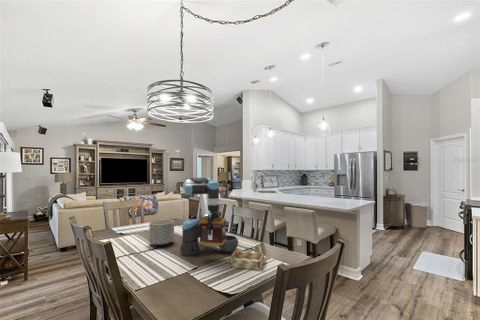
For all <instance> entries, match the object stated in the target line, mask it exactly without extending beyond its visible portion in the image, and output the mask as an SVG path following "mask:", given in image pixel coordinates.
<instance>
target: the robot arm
mask: <svg viewBox="0 0 480 320" xmlns="http://www.w3.org/2000/svg"><path fill="white" fill-rule="evenodd" d="M182 187H183V190H184V195H186V196H187V195H189V196H191V195H199V201H200V202H199V203H200V211H201V217H200V219H198V218H192V219H187V220H185V221H183V222H182V227H181V230H182V238H181V239H182V241H181V242H182V243H181V245H180V249H179V254H180V255H181V256H185V257H186V256H188V257H189V256H190V257H192V256H196V255H199V254H200V253H202V248H201V244H200V240H199V239H200V221H201V220H202V219H204V218H205V217H208V221H207V230H208V240H212V221H213V220H214V219H215V218H220V216H219V215H220V213H219V212H220V211H219V210H220V182H219V181H215V180H212V179H211V177H190V178H187V179H185V180H184V181H183V183H182Z"/></svg>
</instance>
